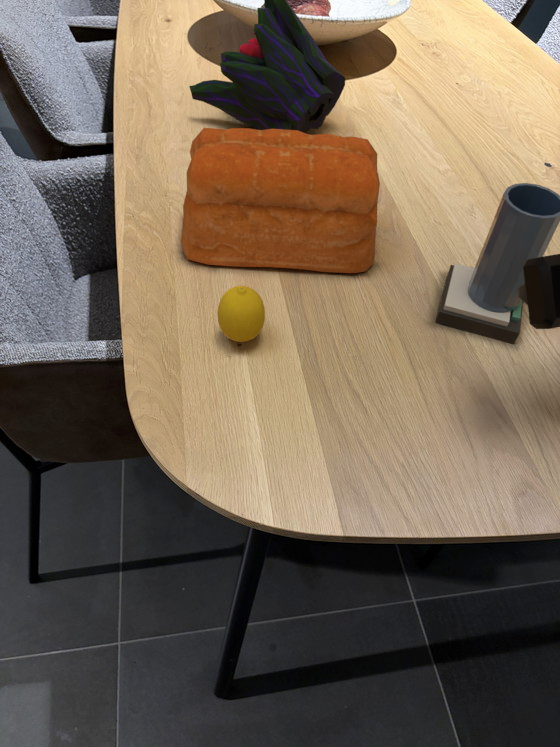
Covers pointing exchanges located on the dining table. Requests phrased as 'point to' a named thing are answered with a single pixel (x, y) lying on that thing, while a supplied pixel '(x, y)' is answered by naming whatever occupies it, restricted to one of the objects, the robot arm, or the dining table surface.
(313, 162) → the bread
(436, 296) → the dining table surface
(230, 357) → the dining table surface
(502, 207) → the tumbler
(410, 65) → the dining table surface
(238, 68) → the decorative plant
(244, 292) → the lemon
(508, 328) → the kitchen scale
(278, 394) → the dining table surface
